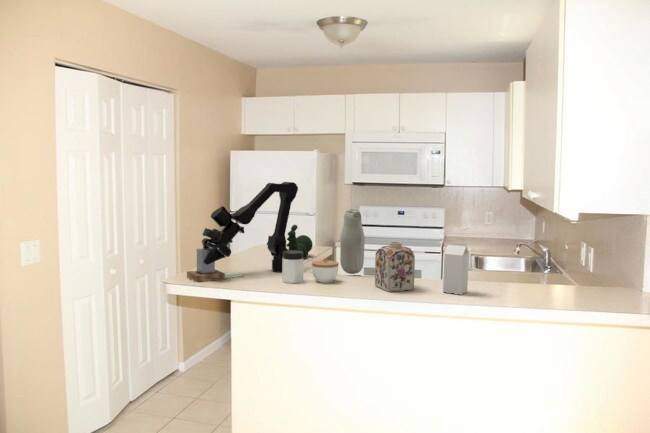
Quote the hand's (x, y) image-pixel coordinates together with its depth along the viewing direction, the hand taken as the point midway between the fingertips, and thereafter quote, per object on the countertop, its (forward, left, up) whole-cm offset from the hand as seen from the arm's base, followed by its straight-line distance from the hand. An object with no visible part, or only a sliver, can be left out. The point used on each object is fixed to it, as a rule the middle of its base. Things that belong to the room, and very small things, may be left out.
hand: (202, 262), depth 237 cm
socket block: (-1, -1, -7) cm, 7 cm away
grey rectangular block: (-1, -1, -7) cm, 7 cm away
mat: (-12, -5, -7) cm, 14 cm away
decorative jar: (-73, +27, -7) cm, 78 cm away
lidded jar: (-49, +11, -7) cm, 51 cm away
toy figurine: (-47, -44, -7) cm, 65 cm away
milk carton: (-94, +37, -7) cm, 101 cm away
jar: (-36, +9, -7) cm, 38 cm away
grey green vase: (-64, -4, -7) cm, 64 cm away
